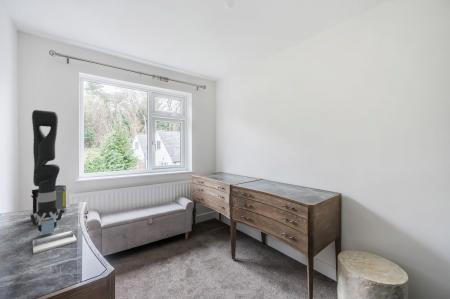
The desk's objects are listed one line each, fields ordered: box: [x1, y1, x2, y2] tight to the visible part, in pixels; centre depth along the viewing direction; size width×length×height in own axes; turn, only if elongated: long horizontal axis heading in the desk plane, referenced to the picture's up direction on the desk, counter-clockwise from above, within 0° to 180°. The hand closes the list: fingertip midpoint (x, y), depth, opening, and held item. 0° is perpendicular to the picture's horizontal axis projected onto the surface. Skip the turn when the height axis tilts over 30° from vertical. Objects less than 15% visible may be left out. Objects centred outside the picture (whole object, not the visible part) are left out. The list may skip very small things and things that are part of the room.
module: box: [41, 217, 55, 235], centre depth 108 cm, size 7×5×7 cm
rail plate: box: [32, 230, 78, 254], centre depth 100 cm, size 16×16×2 cm
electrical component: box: [30, 184, 67, 218], centre depth 141 cm, size 18×10×20 cm, turn 168°
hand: (47, 229), depth 108 cm, fingers closed on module, 5 cm apart
